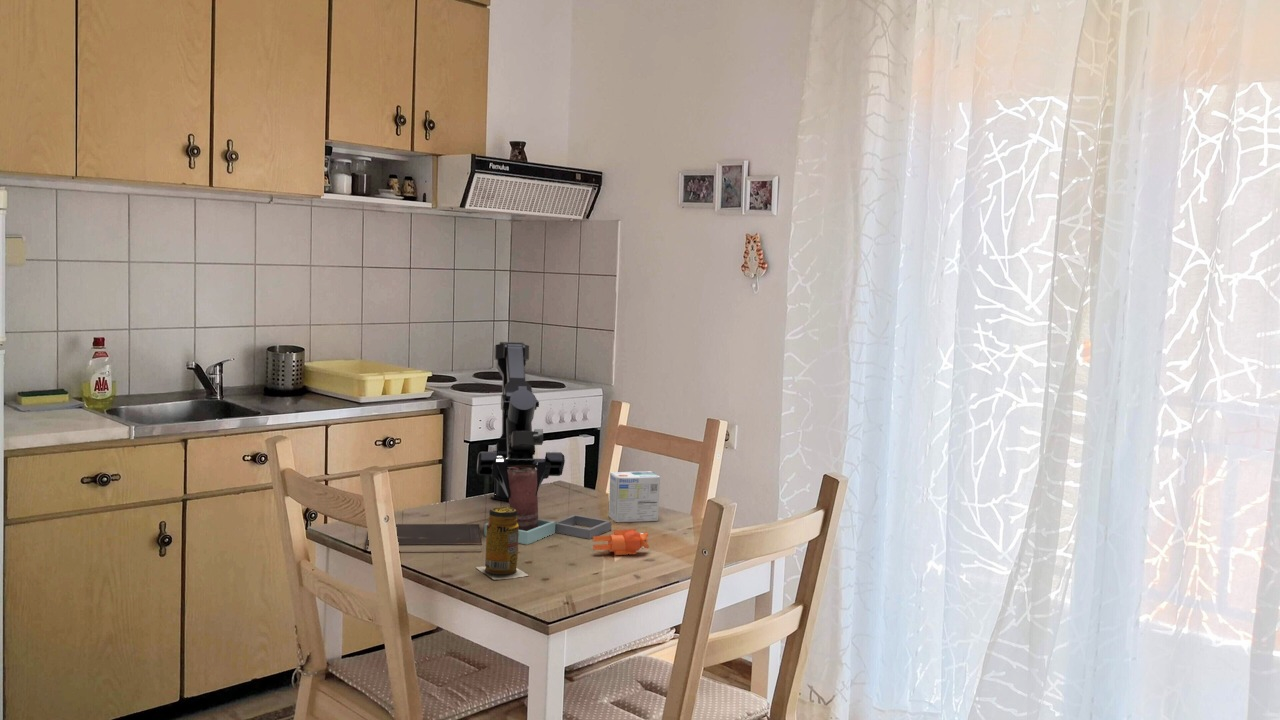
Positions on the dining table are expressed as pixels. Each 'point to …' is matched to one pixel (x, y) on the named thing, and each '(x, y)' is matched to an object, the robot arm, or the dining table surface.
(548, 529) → the tray
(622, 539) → the orange toy figure
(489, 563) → the condiment
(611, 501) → the light bulb box
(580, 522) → the grey square tray
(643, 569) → the dining table surface
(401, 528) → the hardcover book
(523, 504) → the can
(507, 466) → the robot arm
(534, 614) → the dining table surface
